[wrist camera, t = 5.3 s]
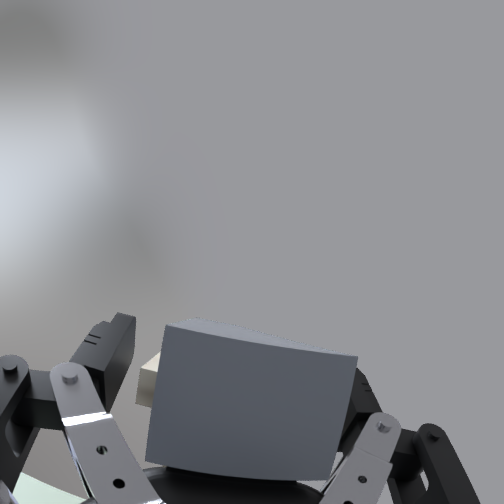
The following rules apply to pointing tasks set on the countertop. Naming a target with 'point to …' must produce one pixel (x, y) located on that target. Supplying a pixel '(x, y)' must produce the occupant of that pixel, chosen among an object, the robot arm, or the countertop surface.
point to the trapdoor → (41, 493)
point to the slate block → (247, 403)
